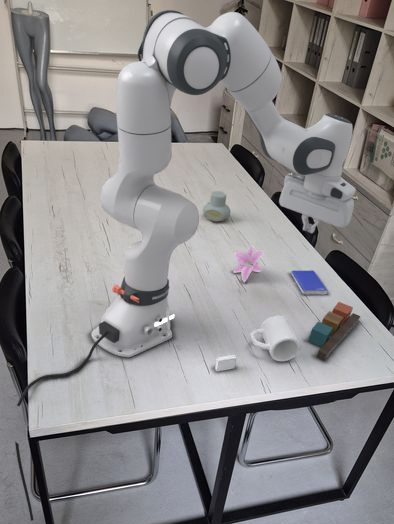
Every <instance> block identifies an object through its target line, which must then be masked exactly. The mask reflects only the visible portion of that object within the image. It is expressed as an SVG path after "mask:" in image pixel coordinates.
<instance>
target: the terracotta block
mask: <svg viewBox="0 0 394 524" xmlns="http://www.w3.org/2000/svg"><path fill="white" fill-rule="evenodd" d="M353 309H354V307H353V306H351V305H348V304H346V303H343V302H341V301H338V302H337V303H336V304H335V306H334V307H333V309H332V311H331V312H332V313H335V314H337V315H339V316H342V317H344V318H343V321H342V324H343V323H344V322H345V321H346V320H347V319H348V318H349V317H350V316H351V315H352V313H353V312H352V311H353ZM342 324H341V325H342Z"/></svg>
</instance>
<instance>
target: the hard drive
mask: <svg viewBox="0 0 394 524" xmlns="http://www.w3.org/2000/svg"><path fill="white" fill-rule="evenodd" d="M290 275H291V277H292V278H293V280H294V281H295V283H296V285H297V286H298V288H299V290H300V291H301V293H302V295H327V294H328V289H327V288H326V286H325V285H324V283H323V282H322V280H321V279H320V277H319V276H318V274H317V273H316V271H315V270H291V272H290Z"/></svg>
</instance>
